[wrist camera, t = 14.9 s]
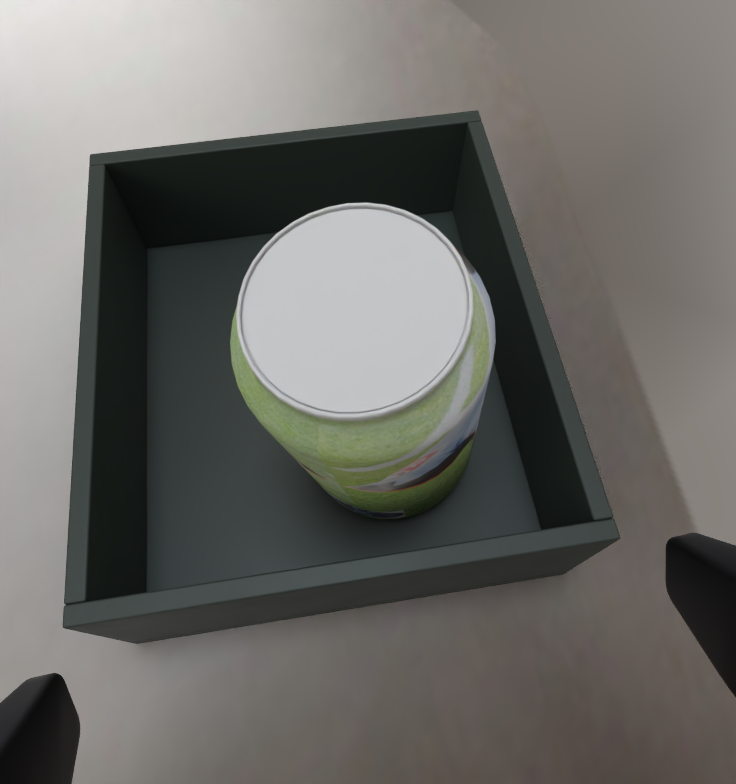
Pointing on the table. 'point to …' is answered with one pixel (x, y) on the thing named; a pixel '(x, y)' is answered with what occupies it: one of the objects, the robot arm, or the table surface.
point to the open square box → (249, 437)
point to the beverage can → (366, 354)
